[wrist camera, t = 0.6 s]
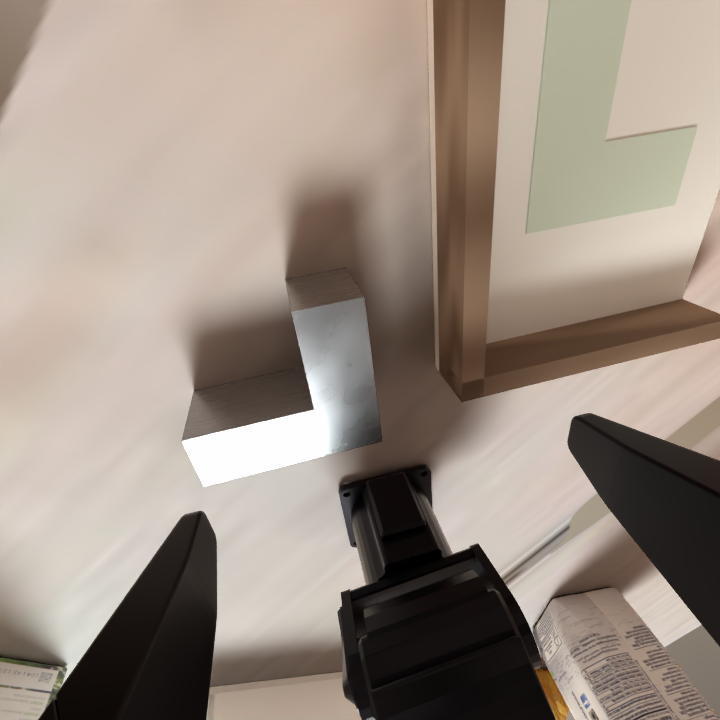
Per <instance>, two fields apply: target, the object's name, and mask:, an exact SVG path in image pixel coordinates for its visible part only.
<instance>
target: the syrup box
mask: <svg viewBox="0 0 720 720" xmlns="http://www.w3.org/2000/svg"><path fill="white" fill-rule="evenodd" d="M66 671H67V668H65V667H59V666H53V665H46V664H40V663H34V662H28V661H21V660H14V659H7V658H1V657H0V720H38V719H39V717H40V716H41V714H42V713H43V712H44V710H45V709H46V707H47V706H48V705H49V703H50V702H51V701H52V700H53V699H56V694H57V692H58V691H59V689H60V688H61V686H62V683H63V680H64V677H65V674H66Z"/></svg>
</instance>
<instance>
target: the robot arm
mask: <svg viewBox="0 0 720 720" xmlns="http://www.w3.org/2000/svg"><path fill="white" fill-rule="evenodd" d="M568 447H569V449H570V451H571V453H572V454H573V456H574V458H575V459H576V461H577V462H578V464H579V465H580V467H581V468H582V470H583V471H584V473H585V474H586V476H587V477H588V479H589V480H590V482H591V483H592V485H593V486H594V488H595V489H596V491H597V492H598V494H599V496H600V497H601V498H602V500H603V501H604V502H605V504H606V505H607V507H608V508H609V509H610V511H611V512H612V513H613V514H614V516H615V517H616V518H617V519H618V521H619V522H620V523H621V524H622V526H623V527H624V528H625V529H626V531H627V532H628V533H629V534H630V536H631V537H632V538H633V539H634V541H635V542H636V543H637V544H638V546H639V547H640V548H641V549H642V551H643V552H644V553H645V554H646V556H647V557H648V558H649V559H650V561H651V562H652V563H653V564H654V565H655V567H656V568H657V569H658V570H659V572H660V573H661V574H662V575H663V577H664V578H665V579H666V580H667V582H668V583H669V584H670V585H671V587H672V588H673V589H674V590H675V592H676V593H677V594H678V595H679V597H680V598H681V599H682V600H683V602H684V603H685V604H686V605H687V607H688V608H689V609H690V610H691V612H692V613H693V614H694V615H695V617H696V618H697V619H698V620H699V622H700V623H701V624H702V625H703V627H704V628H705V629H706V630H707V632H708V633H709V634H710V635H711V636H712V638H713V639H714V640H715V641H716V643H717V644H718V645H719V646H720V461H719V460H716V459H714V458H711V457H708V456H705V455H703V454H700V453H697V452H695V451H692V450H689V449H686V448H684V447H681V446H678V445H676V444H673V443H670V442H668V441H665V440H662V439H659V438H657V437H654V436H651V435H649V434H646V433H643V432H640V431H638V430H635V429H632V428H630V427H627V426H624V425H622V424H619V423H616V422H613V421H611V420H608V419H605V418H603V417H600V416H597V415H594V414H591V413H587V414H583V415H579V416H575V417H574V418H573V419H572V421H571V426H570V431H569V436H568ZM339 496H340V500H341V505H342V509H343V514H344V518H345V522H346V527H347V531H348V536H349V540H350V545H351V546H352V547H357V549H358V553H359V557H360V561H361V565H362V570H363V574H364V578H365V582H366V585H365V586H362V587H360V588H357V589H354V590H351V591H350V589H349V590H346V591H343V592H341V598H342V607H340V610H339V611H338V618H339V624H340V630H341V637H342V686H343V692H344V696H345V698H346V699H347V700H349V701H350V702H351V703H353V704H354V705H355V706H356V709H357V712H358V714H359V716H361V720H556V719H555V716H554V714H553V712H552V709H551V707H550V704H549V702H548V700H547V697H546V695H545V692H544V690H543V688H542V685H541V683H540V680H539V678H538V676H537V673H536V671H535V670H536V669H538V668H540V667H541V658H540V654H539V651H538V648H537V645H536V642H535V639H534V637H533V634H532V632H531V629H530V627H529V625H528V623H527V621H526V619H525V617H524V614H523V612H522V611H521V609H520V607H519V605H518V603H517V602H516V600H515V598H514V597H513V595H512V594H511V592H510V591H509V589H508V588H507V586H506V585H505V583H504V581H503V580H502V578H501V577H500V575H499V574H498V572H497V571H496V569H495V568H494V566H493V565H492V563H491V562H490V560H489V559H488V557H487V556H486V554H485V553H484V551H483V550H482V548H481V547H480V545H479V544H478V543H477V544H474V545H472V546H470V548H468V549H465V550H463V551H460V552H457V553H454V554H453V553H452V551H451V549H450V547H449V545H448V543H447V540H446V538H445V536H444V534H443V532H442V529H441V527H440V525H439V523H438V521H437V519H436V516H435V514H434V512H433V510H432V492H431V471H430V469H429V467H428V466H427V465H419V466H415V467H412V468H408V469H404V470H400V471H396V472H393V473H389V474H385V475H381V476H378V477H374V478H370V479H366V480H362V481H359V482H355V483H351V484H347V485H344V486H342V487H341V488H340V489H339ZM216 620H217V542H216V536H215V533H214V531H213V529H212V527H211V525H210V522H209V520H208V518H207V516H206V514H205V513H204V512H203V511H197V512H193V513H189V514H185V515H184V516H182V517H181V519H180V520H179V521H178V523H177V524H176V526H175V527H174V528H173V530H172V531H171V533H170V534H169V535H168V537H167V538H166V540H165V541H164V543H163V544H162V545H161V547H160V548H159V550H158V551H157V552H156V554H155V555H154V557H153V558H152V559H151V561H150V562H149V564H148V565H147V567H146V568H145V569H144V571H143V572H142V574H141V575H140V576H139V578H138V579H137V581H136V582H135V583H134V585H133V586H132V588H131V589H130V591H129V592H128V593H127V595H126V596H125V598H124V599H123V600H122V602H121V603H120V605H119V606H118V607H117V609H116V610H115V612H114V613H113V615H112V616H111V617H110V619H109V620H108V622H107V623H106V624H105V626H104V627H103V629H102V630H101V631H100V633H99V634H98V636H97V637H96V639H95V640H94V641H93V643H92V644H91V646H90V647H89V648H88V650H87V651H86V653H85V654H84V655H83V657H82V658H81V660H80V661H79V663H78V664H77V665H76V667H75V668H74V670H73V671H72V672H71V674H70V675H69V677H68V678H67V679H66V681H65V682H64V684H63V685H62V687H61V688H60V689H59V691H58V692H57V694H56V699H53V700H52V701H51V702H50V703H49V705H48V706H47V707H46V709H45V710H44V712H43V713H42V714H41V716H40V717H39V719H38V720H206V719H207V710H208V700H209V690H210V680H211V671H212V661H213V651H214V641H215V632H216Z"/></svg>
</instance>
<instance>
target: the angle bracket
mask: <svg viewBox="0 0 720 720" xmlns="http://www.w3.org/2000/svg"><path fill="white" fill-rule="evenodd" d="M285 281H286V286H287V292H288V297H289V303H290V308H291V313H292V318H293V322H294V326H295V330H296V335H297V339H298V343H299V347H300V351H301V356H302V360H303V364H304V366H303V367H298V368H294V369H289V370H285V371H280V372H276V373H271V374H267V375H262V376H258V377H253V378H249V379H244V380H240V381H235V382H231V383H226V384H222V385H217V386H213V387H208V388H204V389H199V390H195V391H194V392H193V397H192V401H191V405H190V409H189V413H188V417H187V421H186V425H185V429H184V433H183V437H182V443H183V445H184V447H185V449H186V451H187V453H188V455H189V457H190V459H191V461H192V463H193V465H194V467H195V469H196V471H197V473H198V475H199V477H200V479H201V482H202V484H203V486H208V485H212V484H216V483H220V482H224V481H227V480H231V479H235V478H239V477H243V476H247V475H251V474H255V473H259V472H263V471H267V470H271V469H275V468H279V467H283V466H287V465H291V464H295V463H299V462H302V461H306V460H310V459H314V458H318V457H322V456H326V455H330V454H334V453H338V452H342V451H346V450H350V449H354V448H358V447H362V446H366V445H370V444H374V443H378V442H381V441H382V435H381V427H380V419H379V410H378V402H377V394H376V386H375V378H374V370H373V362H372V354H371V346H370V338H369V330H368V322H367V314H366V306H365V298H364V296H363V294H362V292H361V291H360V289H359V288H358V286H357V285H356V283H355V281H354V280H353V278H352V277H351V275H350V274H349V272H348V270H347V269H346V268H342V269H337V270H332V271H327V272H321V273H316V274H311V275H306V276H301V277H296V278H290V279H285Z"/></svg>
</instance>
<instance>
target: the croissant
mask: <svg viewBox="0 0 720 720" xmlns="http://www.w3.org/2000/svg"><path fill="white" fill-rule="evenodd" d="M535 671H536V673H537V676H538V678H539V680H540V683H541V685H542V688H543V690H544V692H545V695H546V697H547V700H548V702H549V704H550V707H551V709H552V712H553V714H554V716H555V719H556V720H566V715H567V714H568V710H569V707H568V705H567V704H566V702H565V700H564V698H563V696H562V694H561V692H560V690H559V689H558V687H557V685H556V683H555V681H554V679H553V677H552V675H551V674H550V672H549V670H548V669H545V670H542V669H541V668H538V669H536V670H535Z"/></svg>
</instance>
